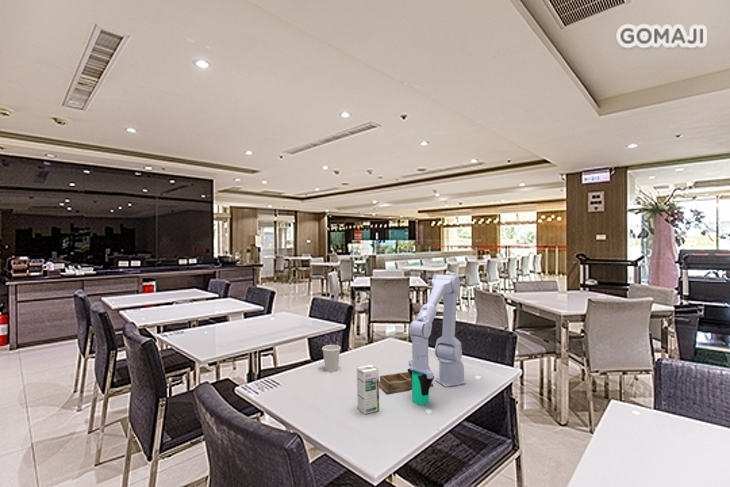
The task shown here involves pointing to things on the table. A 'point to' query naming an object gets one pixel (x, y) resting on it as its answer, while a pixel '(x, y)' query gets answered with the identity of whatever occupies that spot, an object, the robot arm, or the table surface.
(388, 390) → the divided wooden tray
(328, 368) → the dixie cup
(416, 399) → the candle
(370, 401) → the syrup box
